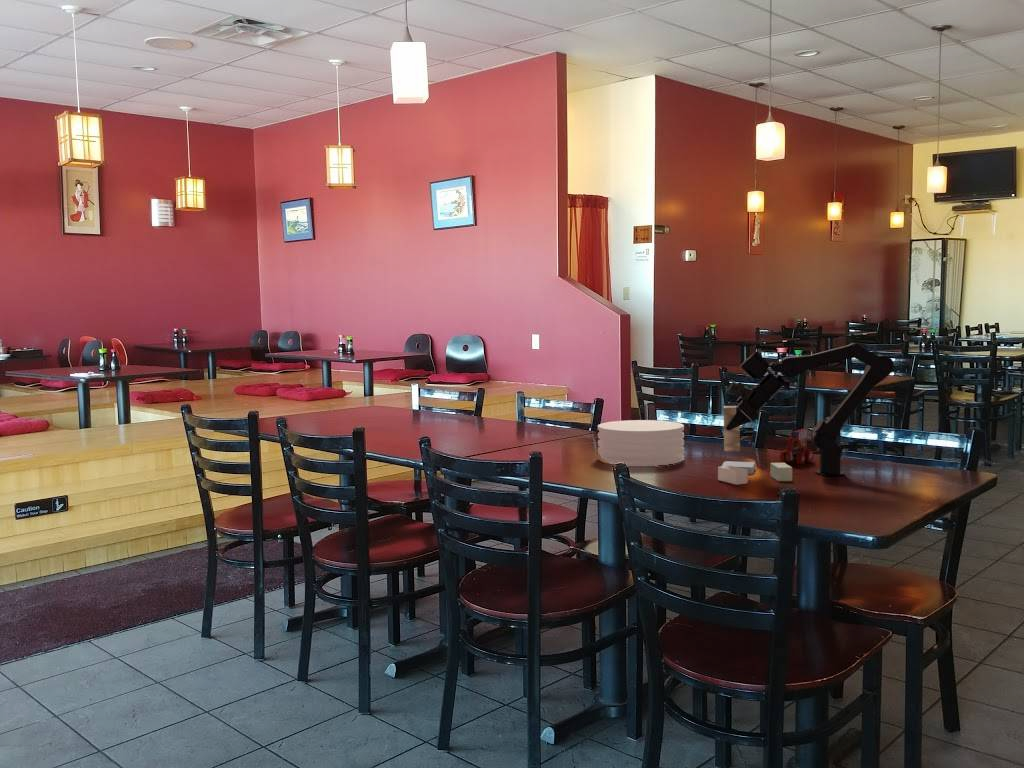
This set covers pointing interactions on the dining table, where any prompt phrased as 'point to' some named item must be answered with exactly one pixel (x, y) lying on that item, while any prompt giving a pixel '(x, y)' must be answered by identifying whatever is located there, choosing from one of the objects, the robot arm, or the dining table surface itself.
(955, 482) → the dining table surface
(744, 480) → the cream brick
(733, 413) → the birch pillar
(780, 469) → the sage brick
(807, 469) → the dining table surface
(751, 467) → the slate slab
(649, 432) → the plate stack
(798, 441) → the toy fire truck
